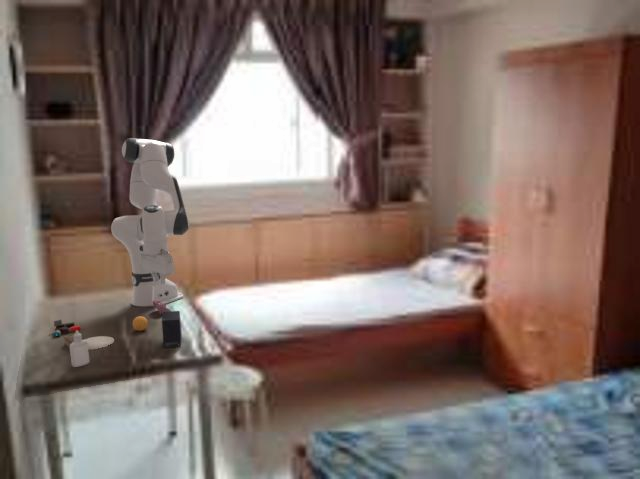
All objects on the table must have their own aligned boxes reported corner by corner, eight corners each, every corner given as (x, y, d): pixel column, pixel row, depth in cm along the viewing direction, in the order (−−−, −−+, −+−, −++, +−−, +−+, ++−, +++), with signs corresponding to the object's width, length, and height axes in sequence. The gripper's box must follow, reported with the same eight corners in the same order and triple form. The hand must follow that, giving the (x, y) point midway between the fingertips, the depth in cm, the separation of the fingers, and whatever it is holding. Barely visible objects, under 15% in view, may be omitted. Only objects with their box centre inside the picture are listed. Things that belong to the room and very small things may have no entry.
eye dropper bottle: (89, 365, 210) (85, 331, 208) (71, 368, 208) (67, 333, 206) (90, 360, 214) (86, 327, 212) (72, 363, 212) (68, 329, 210)
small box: (182, 346, 224) (179, 318, 222) (163, 348, 223) (160, 320, 221) (182, 336, 234) (180, 309, 232) (164, 338, 233) (162, 311, 231)
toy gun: (51, 339, 237) (50, 327, 236) (57, 329, 249) (55, 317, 248) (79, 336, 239) (77, 324, 238) (82, 326, 251) (81, 314, 250)
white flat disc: (105, 334, 240) (104, 333, 240) (120, 342, 230) (120, 342, 230) (71, 343, 231) (71, 342, 231) (85, 352, 222) (85, 352, 222)
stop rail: (71, 342, 232) (70, 335, 231) (87, 352, 222) (86, 344, 221) (65, 344, 230) (64, 336, 230) (80, 354, 220) (79, 346, 219)
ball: (144, 326, 246) (142, 313, 245) (151, 330, 242) (149, 316, 241) (130, 330, 243) (129, 316, 242) (137, 334, 239) (136, 319, 238)
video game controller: (157, 313, 268) (148, 300, 265) (166, 307, 269) (158, 294, 267) (163, 319, 259) (154, 306, 257) (172, 313, 261) (163, 300, 258)
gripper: (177, 250, 237) (180, 285, 240) (151, 243, 252) (154, 276, 255) (162, 253, 233) (165, 289, 236) (136, 245, 248) (139, 279, 251)
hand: (159, 282), depth 245 cm, fingers open, 3 cm apart
